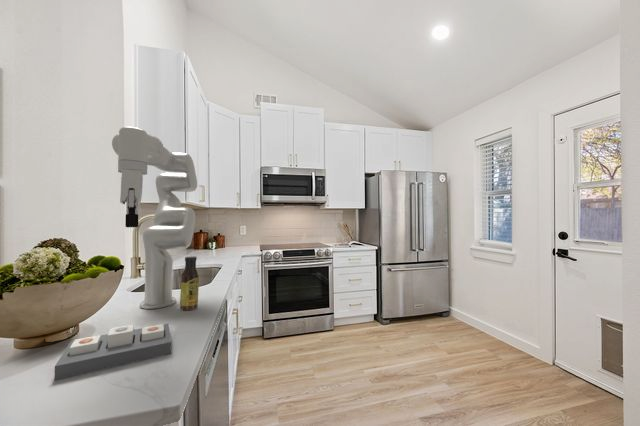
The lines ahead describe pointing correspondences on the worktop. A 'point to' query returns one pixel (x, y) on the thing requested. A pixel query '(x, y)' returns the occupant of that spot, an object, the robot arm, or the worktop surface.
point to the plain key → (120, 336)
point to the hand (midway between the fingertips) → (131, 227)
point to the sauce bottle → (189, 285)
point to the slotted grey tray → (112, 354)
